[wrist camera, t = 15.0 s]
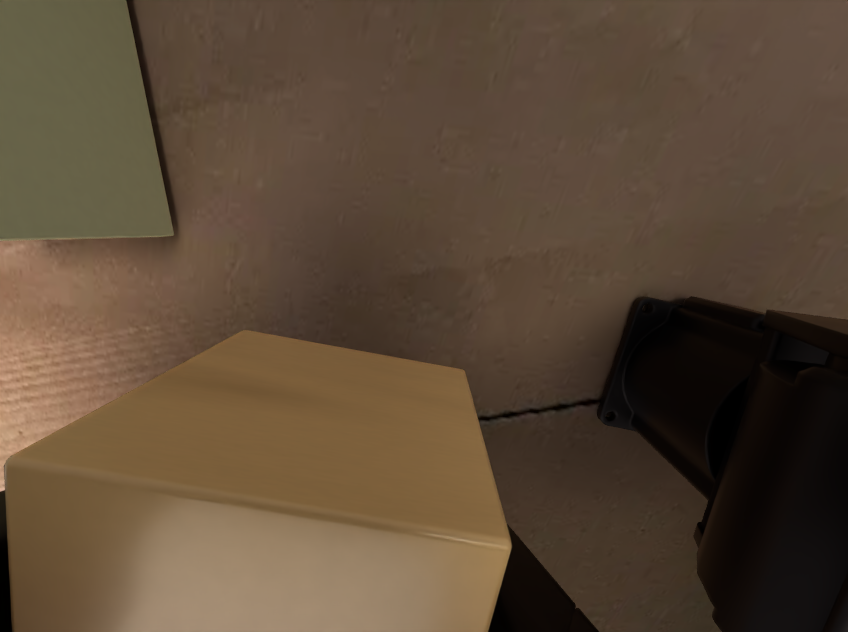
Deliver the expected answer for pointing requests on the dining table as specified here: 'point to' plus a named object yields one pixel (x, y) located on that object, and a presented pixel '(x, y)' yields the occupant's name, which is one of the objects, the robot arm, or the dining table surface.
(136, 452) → the block
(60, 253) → the dining table surface
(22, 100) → the cabinet door
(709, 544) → the robot arm
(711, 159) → the dining table surface
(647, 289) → the dining table surface
